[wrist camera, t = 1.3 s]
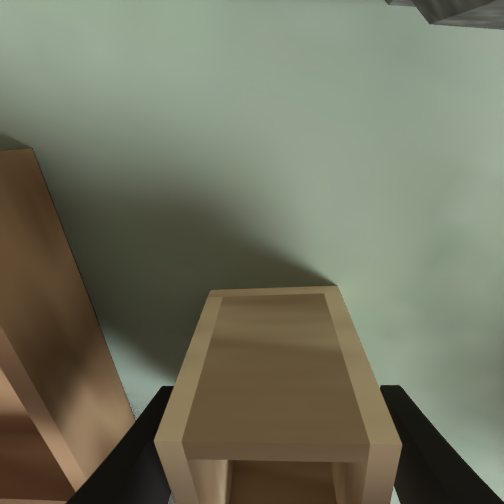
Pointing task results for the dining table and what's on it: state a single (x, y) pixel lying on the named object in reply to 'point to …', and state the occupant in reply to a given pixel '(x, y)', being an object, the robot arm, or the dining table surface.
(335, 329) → the small crate
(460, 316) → the dining table surface
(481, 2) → the mortar and pestle
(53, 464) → the large crate
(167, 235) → the dining table surface
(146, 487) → the robot arm
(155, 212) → the dining table surface
